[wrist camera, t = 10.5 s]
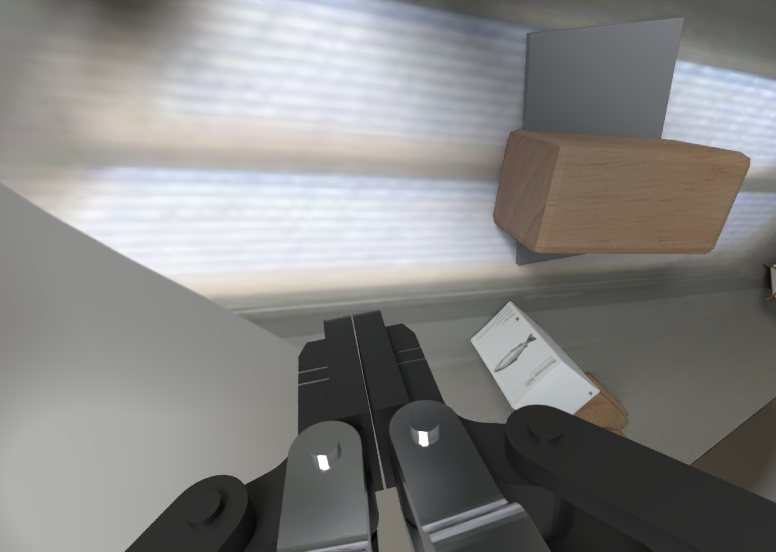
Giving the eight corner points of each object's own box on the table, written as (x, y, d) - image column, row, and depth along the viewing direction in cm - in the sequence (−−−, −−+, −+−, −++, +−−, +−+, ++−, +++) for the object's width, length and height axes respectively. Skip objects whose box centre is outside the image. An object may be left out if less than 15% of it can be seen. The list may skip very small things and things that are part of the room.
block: (559, 141, 34) (760, 154, 38) (505, 127, 42) (673, 139, 46) (531, 257, 38) (715, 257, 42) (488, 222, 47) (642, 225, 51)
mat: (527, 33, 40) (530, 32, 39) (679, 18, 41) (684, 17, 41) (516, 263, 50) (518, 265, 50) (637, 242, 52) (640, 244, 52)
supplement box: (509, 298, 52) (565, 359, 41) (542, 328, 55) (604, 392, 44) (467, 338, 54) (510, 408, 43) (502, 365, 57) (551, 437, 46)
